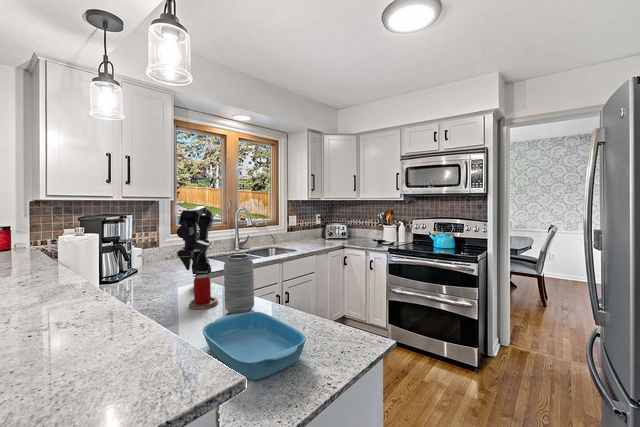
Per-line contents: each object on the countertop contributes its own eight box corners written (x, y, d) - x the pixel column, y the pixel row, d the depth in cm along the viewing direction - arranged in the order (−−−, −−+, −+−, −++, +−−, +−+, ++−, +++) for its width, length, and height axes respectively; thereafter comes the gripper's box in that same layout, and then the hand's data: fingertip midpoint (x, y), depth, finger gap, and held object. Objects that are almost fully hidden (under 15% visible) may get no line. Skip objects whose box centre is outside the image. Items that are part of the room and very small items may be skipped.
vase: (219, 313, 125) (217, 257, 123) (239, 304, 135) (237, 252, 134) (241, 319, 119) (239, 260, 118) (260, 309, 129) (259, 254, 128)
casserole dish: (193, 344, 100) (192, 323, 99) (254, 324, 114) (254, 305, 114) (249, 400, 72) (248, 371, 72) (320, 365, 87) (320, 340, 87)
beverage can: (211, 299, 139) (210, 273, 139) (209, 304, 133) (209, 277, 132) (195, 300, 138) (194, 274, 137) (193, 306, 131) (192, 278, 131)
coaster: (203, 298, 143) (203, 295, 143) (223, 302, 138) (223, 298, 138) (182, 307, 132) (182, 303, 132) (203, 311, 127) (203, 307, 127)
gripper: (201, 238, 140) (202, 272, 140) (213, 233, 158) (214, 263, 159) (176, 238, 139) (177, 272, 140) (191, 233, 158) (192, 263, 159)
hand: (191, 267), depth 149 cm, fingers open, 9 cm apart
